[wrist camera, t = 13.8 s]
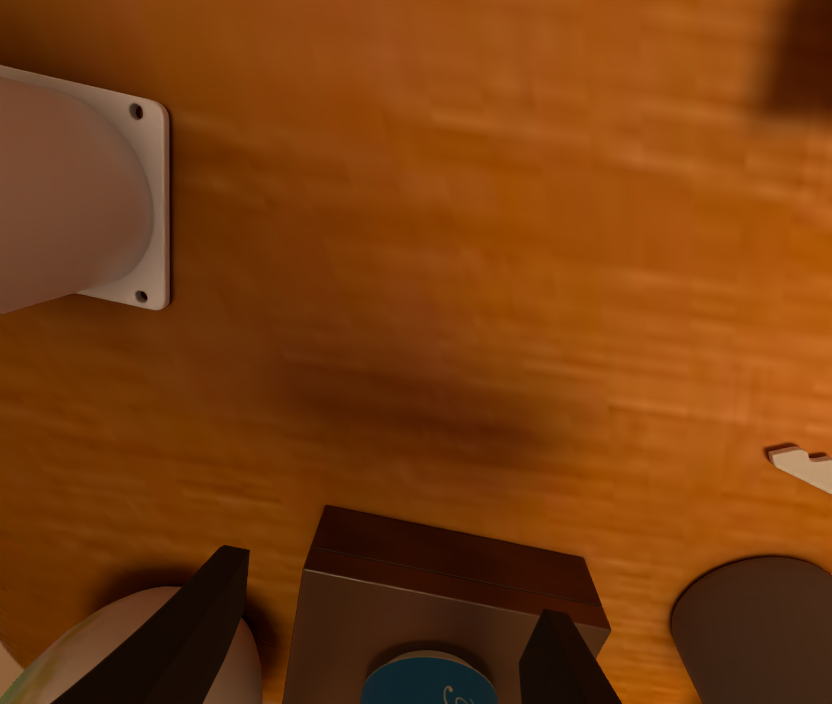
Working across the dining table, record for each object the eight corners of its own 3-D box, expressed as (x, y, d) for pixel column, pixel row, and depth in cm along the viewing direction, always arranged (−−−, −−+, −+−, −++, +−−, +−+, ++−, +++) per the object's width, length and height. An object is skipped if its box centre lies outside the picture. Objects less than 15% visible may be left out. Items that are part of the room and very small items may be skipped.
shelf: (300, 653, 27) (277, 729, 23) (325, 504, 22) (302, 568, 19) (517, 695, 27) (529, 777, 23) (584, 557, 23) (612, 630, 19)
